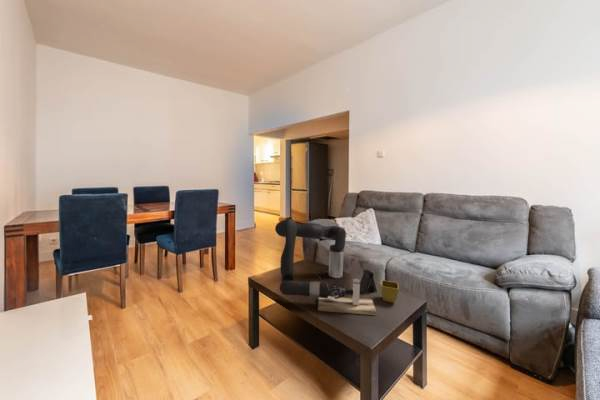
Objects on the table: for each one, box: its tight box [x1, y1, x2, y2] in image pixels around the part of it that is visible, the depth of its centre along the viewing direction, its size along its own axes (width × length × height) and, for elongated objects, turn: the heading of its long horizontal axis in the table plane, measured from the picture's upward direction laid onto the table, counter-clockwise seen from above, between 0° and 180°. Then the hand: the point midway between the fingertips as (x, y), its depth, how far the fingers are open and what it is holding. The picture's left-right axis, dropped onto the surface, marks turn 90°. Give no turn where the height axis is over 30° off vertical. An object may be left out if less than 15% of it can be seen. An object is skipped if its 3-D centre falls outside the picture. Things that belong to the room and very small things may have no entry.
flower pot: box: [380, 280, 400, 304], centre depth 139 cm, size 9×9×9 cm
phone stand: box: [360, 268, 378, 295], centre depth 150 cm, size 9×6×12 cm, turn 108°
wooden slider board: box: [317, 295, 377, 316], centre depth 131 cm, size 12×28×2 cm, turn 84°
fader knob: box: [351, 278, 361, 305], centre depth 130 cm, size 4×3×12 cm
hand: (352, 292), depth 130 cm, fingers closed
